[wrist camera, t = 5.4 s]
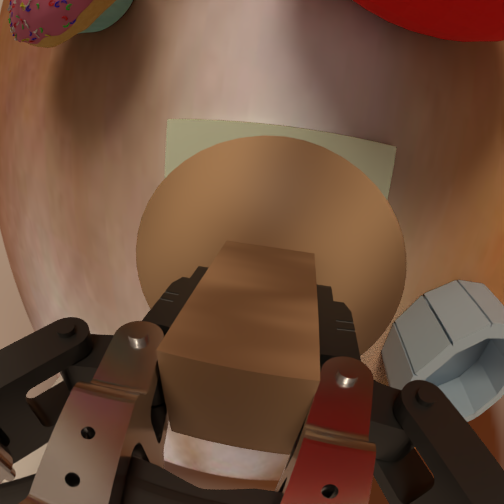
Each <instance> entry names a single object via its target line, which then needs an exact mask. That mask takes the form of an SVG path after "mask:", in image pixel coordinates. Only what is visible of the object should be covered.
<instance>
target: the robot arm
mask: <svg viewBox="0 0 504 504" xmlns="http://www.w3.org/2000/svg"><path fill="white" fill-rule="evenodd" d="M208 268H209V267H203V266H198V268H197V269H196V270H195V272H194V273H193V274H192V276H191V277H190V278H187V277H181V278H180V279H178V280H176V281H174V282H172V283H171V284H170V286H169V287H168V288H167V289H166V291H165V293H163V294H162V296H161V297H160V299H159V300H158V301H157V302H156V303H155V305H154V306H153V307H152V308H151V310H150V311H149V312H148V314H147V315H146V316H145V317H144V319H143V320H142V321H134V322H130V323H127V324H125V325H123V326H121V327H120V328H119V329H118V330H117V331H116V332H115V334H114V335H97V334H90V331H89V327H88V325H87V323H86V322H85V321H84V320H82V319H79V318H75V317H68V318H63V319H60V320H57V321H55V322H53V323H51V324H49V325H47V326H45V327H43V328H41V329H40V330H38V331H36V332H34V333H32V334H30V335H28V336H26V337H24V338H22V339H20V340H18V341H16V342H14V343H12V344H10V345H9V346H7V347H5V348H3V349H1V350H0V504H368V503H369V497H370V491H371V485H372V479H373V475H374V477H375V479H376V481H377V482H378V484H379V486H380V488H381V490H382V491H383V493H384V495H385V497H386V499H387V500H388V502H389V504H504V470H503V469H502V468H501V466H500V465H499V463H498V462H497V461H496V459H495V458H494V457H493V455H492V454H491V453H490V451H489V450H488V449H487V447H486V446H485V444H484V443H483V442H482V441H481V439H480V438H479V437H478V436H477V434H476V433H475V432H474V430H473V429H472V428H471V426H470V425H469V424H468V423H467V421H466V420H465V419H464V418H463V416H462V415H461V414H460V413H459V411H458V410H457V409H456V408H455V406H454V405H453V404H452V403H451V401H450V400H449V399H448V398H447V397H446V395H445V394H444V393H443V392H442V391H441V389H440V388H438V387H437V386H436V385H434V384H433V383H431V382H428V381H425V380H414V381H410V382H408V383H407V384H406V385H405V386H404V387H403V389H402V390H399V389H396V388H393V387H389V386H386V385H383V384H381V383H378V382H377V381H375V380H373V374H372V372H371V370H370V369H369V368H368V367H367V366H366V365H365V364H364V363H363V362H361V359H360V353H359V348H358V342H357V337H356V332H355V327H354V324H353V317H352V312H351V311H350V309H349V308H348V307H347V306H346V305H345V303H344V302H337V301H333V294H332V288H331V286H324V285H318V284H317V300H318V319H319V346H320V383H319V386H318V388H317V391H316V393H315V394H314V397H313V400H312V402H311V405H310V407H309V411H308V413H307V416H306V418H305V421H304V423H303V425H302V428H301V430H300V432H299V434H298V437H297V439H296V440H295V442H294V445H293V447H292V449H291V452H290V455H289V458H288V460H287V463H286V466H285V468H284V471H283V474H282V476H281V478H280V481H279V483H278V485H277V487H276V490H275V491H267V490H260V489H237V490H207V489H201V488H198V487H196V486H194V485H192V484H190V483H188V482H186V481H184V480H183V479H181V478H179V477H177V476H175V475H173V474H172V473H170V472H168V471H167V470H165V469H164V444H165V439H166V433H167V428H168V423H169V417H168V412H167V408H166V403H165V398H164V393H163V388H162V382H161V377H160V371H159V365H158V359H157V353H156V349H157V348H158V346H159V344H160V343H161V341H162V340H163V338H164V337H165V335H166V333H167V332H168V330H169V329H170V327H171V325H172V324H173V322H174V321H175V319H176V318H177V316H178V314H179V313H180V311H181V310H182V308H183V307H184V305H185V303H186V302H187V300H188V299H189V297H190V296H191V294H192V293H193V291H194V290H195V288H196V286H197V285H198V283H199V282H200V280H201V279H202V277H203V276H204V274H205V273H206V271H207V270H208ZM59 372H60V374H61V376H62V378H63V381H62V382H60V383H58V384H57V385H55V386H53V387H52V388H50V389H48V390H47V391H45V392H43V393H42V394H40V395H38V396H37V397H35V398H27V397H26V394H27V392H28V391H29V390H30V389H31V388H33V387H35V386H36V385H38V384H40V383H42V382H43V381H45V380H47V379H48V378H50V377H52V376H54V375H55V374H57V373H59ZM46 443H48V444H47V447H46V449H45V452H44V454H43V457H42V459H41V462H40V464H39V467H38V470H37V472H36V474H32V475H29V476H26V477H23V478H19V479H16V480H14V479H15V476H16V472H15V469H14V468H13V467H12V466H13V464H14V463H16V462H18V461H19V460H21V459H22V458H24V457H26V456H27V455H29V454H31V453H32V452H34V451H35V450H37V449H38V448H40V447H42V446H43V445H45V444H46ZM414 447H416V449H417V450H418V452H419V453H420V455H421V456H422V458H423V459H424V461H425V462H426V464H427V466H428V467H429V469H430V470H431V472H432V473H433V475H434V478H433V476H432V475H431V473H430V472H429V470H428V469H427V467H426V466H425V464H424V463H423V461H422V460H421V458H420V456H419V455H418V454H417V452H416V450H415V449H414ZM4 479H5V480H7V481H9V482H5V483H2V481H3V480H4Z"/></svg>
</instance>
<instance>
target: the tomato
mask: <svg viewBox="0 0 504 504" xmlns="http://www.w3.org/2000/svg"><path fill="white" fill-rule="evenodd" d="M353 1H354V2H356V3H357V4H359V5H360V6H362V7H363V8H365V9H366V10H368V11H370V12H372V13H374V14H375V15H377V16H379V17H381V18H382V19H384V20H386V21H388V22H390V23H393V24H395V25H398V26H400V27H403V28H405V29H407V30H410V31H413V32H417V33H421V34H425V35H429V36H433V37H436V38H440V39H445V40H454V41H461V42H474V41H502V40H504V0H353Z"/></svg>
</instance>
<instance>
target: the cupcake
mask: <svg viewBox="0 0 504 504" xmlns="http://www.w3.org/2000/svg"><path fill="white" fill-rule="evenodd" d="M132 1H133V0H10V5H9V8H8V11H9V13H10V14H9V23H10V29H11V33H13V36H16V38H15V40H18V41H19V42H21V41H22V42H26V43H28V44H30V45H33V46H37V47H45V48H50V47H55V46H57V45H59V44H61V43H63V42H65V41H67V40H68V39H70V38H71V37H73V36H74V35H76V34H79V33H87V32H97V31H101V30H103V29H106V28H108V27H109V26H111V25H112V24H114V23H115V22H116V21H118V20H119V19H120V18H121V17H122V16H123V15H124V13H125V12H126V11H127V10H128V8H129V7H130V5H131V3H132ZM9 9H10V10H9Z"/></svg>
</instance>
